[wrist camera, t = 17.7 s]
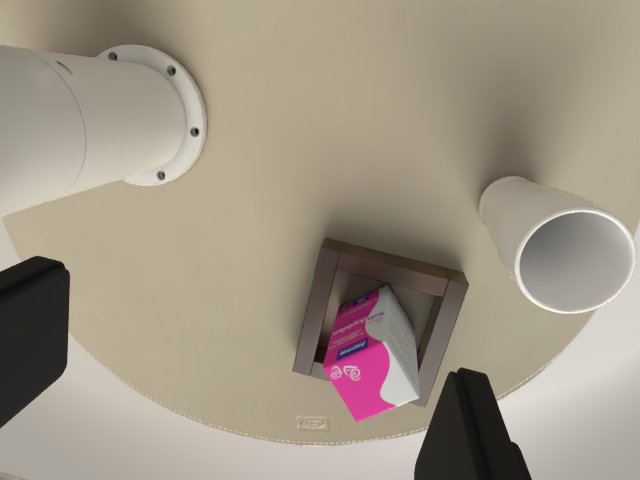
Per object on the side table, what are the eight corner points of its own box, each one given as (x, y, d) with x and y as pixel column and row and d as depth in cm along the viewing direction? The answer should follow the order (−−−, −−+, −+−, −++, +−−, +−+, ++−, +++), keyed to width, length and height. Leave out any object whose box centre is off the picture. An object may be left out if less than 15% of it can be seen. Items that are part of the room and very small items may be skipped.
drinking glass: (504, 151, 39) (572, 182, 25) (565, 195, 39) (667, 251, 25) (453, 212, 41) (488, 273, 27) (512, 254, 41) (577, 336, 27)
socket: (297, 355, 48) (292, 371, 45) (324, 237, 44) (320, 247, 41) (423, 389, 47) (425, 407, 44) (463, 272, 43) (469, 284, 40)
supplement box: (387, 279, 44) (387, 339, 33) (415, 328, 45) (424, 401, 34) (336, 304, 46) (320, 369, 35) (364, 350, 47) (358, 427, 36)
